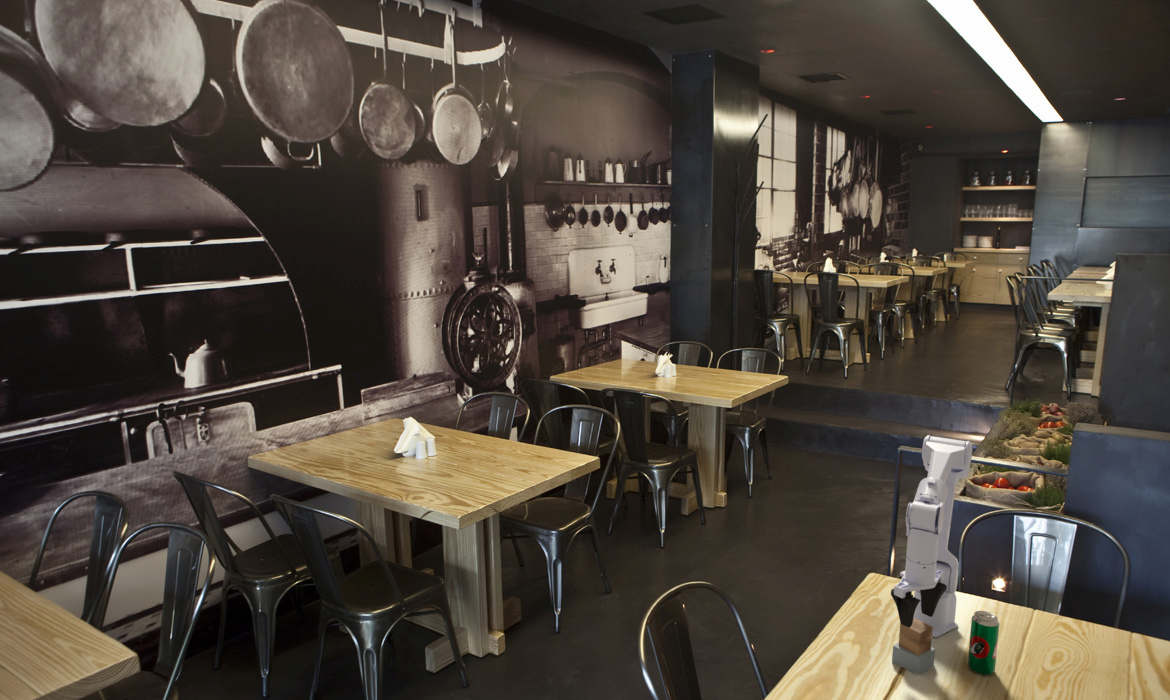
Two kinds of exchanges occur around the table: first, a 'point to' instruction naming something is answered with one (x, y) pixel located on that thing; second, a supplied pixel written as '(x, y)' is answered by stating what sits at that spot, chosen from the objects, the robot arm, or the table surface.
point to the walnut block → (916, 637)
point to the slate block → (913, 659)
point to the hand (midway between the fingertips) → (916, 619)
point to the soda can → (983, 642)
